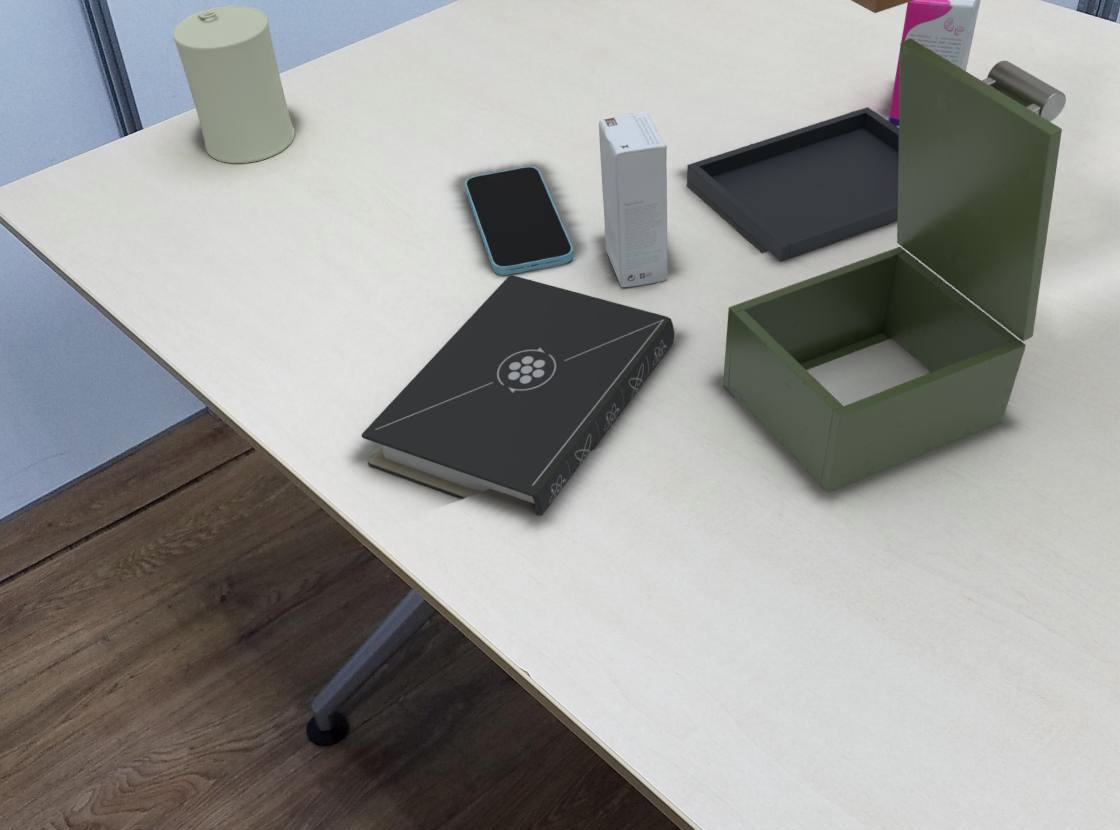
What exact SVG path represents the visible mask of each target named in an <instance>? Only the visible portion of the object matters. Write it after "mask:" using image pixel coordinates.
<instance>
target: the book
mask: <svg viewBox="0 0 1120 830" xmlns="http://www.w3.org/2000/svg"><path fill="white" fill-rule="evenodd" d="M674 327H675V326H674V323H673V320H672V318H670V317H669V316H666V315H663V314H659V313H655V312H652V311H647V310H644V309H640V308H637V307H634V306H633V307H632V306H630V305H625V304H622V303H618V302H614V301H611V300H607V299H604V298H603V299H602V298H599V297H595V296H591V295H589V294H584V293H581V292H578V291H573V290H569V289H567V288H566V289H565V288H562V287H558V286H554V285H550V284H547V283H543V282H539V281H536V280H532V279H528V278H524V277H522V276H521V277H520V276H518V275H513V274H508V276H507V277H506V279H505V280H504V281H503V282H502V283H501V284H500V285H499V286H497V288H496V289H495V290H494V291H493V293H491V294H490V296H489V297H488V298H486V299H485V301H484V302H483V303H482V304H481V306H480V307H478V308H477V309H476V311H475V312H474V313H473V314H472V315H471V316H470V317H469V318H468V319H467V320H466V321H465V322H464V323H463V325H462V326H461V327H459V329H458V330H457V331H456V332H455V333H454V334H453V335H452V336H451V338H450V339H449V340H447V342H445V344H444V345H443V346H442V347H441V348H440V349H439V350H438V352H437V353H436V354H435V355H434V356H433V357H432V358H431V359H430V360H429V361H428V362H427V363H426V364H425V365H424V367H422V369H421V370H419V372H418V373H417V374H416V375H415V376H414V377H413V378H412V379H411V380H410V381H409V383H408V384H407V385H406V386H405V387H404V388H403V389H402V390H401V391H400V392H399V393H398V394H397V395H396V396H395V397H394V399H392V401H391V402H390V403H389V404H387V406H386V407H385V408H384V409H383V411H381V413H380V414H379V415H378V416H377V417H376V418H375V419H374V420H373V421H372V422H371V424H369V426H368V427H367V428H366V429H365V430H364V431H363V432H361V437H362V438H363V440H367V441H370V442H373V443H376V444H378V445H381V447H380V448H379V449H378V450H377V452H375V454H373V456H372V457H371V458H370V459H369V460H368V461H367V464H368V466H370V467H372V468H375V469H378V470H381V471H383V472H386V473H388V474H391V475H395V476H397V477H400V478H403V479H405V480H408V481H412V482H414V483H417V484H420V485H423V486H426V487H429V488H432V489H434V490H437V491H440V492H442V493H445V494H447V495H451V496H454V497H457V498H458V499H462V500H464V499H467V498H470V497H472V496H474V495H477V494H480V493H483V492H485V491H488V490H493V491H496V492H499V493H502V494H504V495H507V496H510V497H513V498H516V499H519V500H522V501H525V502H528V503H530V504H533V505H534V506H535V516H543V515H544V513H545V512H546V511H547V509H548V508H549V507H550V506H551V505H552V503H553V502H554V500H555V499H556V498H557V496H558V495H559V493H560V492H561V491H562V489H563V488H564V487H565V486H566V484H567V483H568V481H569V480H570V479H571V477H572V476H573V475H574V474H575V472H576V471H577V470H578V468H579V467H580V465H581V464H582V463H583V462H584V460H585V459H586V457H588V455H589V453H590V452H592V451H594V450H595V448H596V447H597V445H598V444H599V443H600V442H601V440H602V438H603V437H604V436H605V435H606V433H607V432H608V430H609V429H610V428H611V426H613V424H614V422H616V420H617V419H618V417H619V416H620V415H621V413H622V412H623V411H624V409H626V406H628V405H629V403H630V401H631V400H632V398H633V397H634V396H635V394H636V393H637V392H638V391H639V389H640V388H641V386H642V385H643V384H644V382H645V381H646V380H647V378H648V377H649V376H650V375H651V373H652V372H653V371H654V369H655V368H656V367H657V365H658V364H659V363H660V361H661V360H662V358H663V357H664V356H665V354H666V353H667V352H668V350H669V349H670V348H671V346H672V345H673V344H674V341H675V328H674Z"/></svg>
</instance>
